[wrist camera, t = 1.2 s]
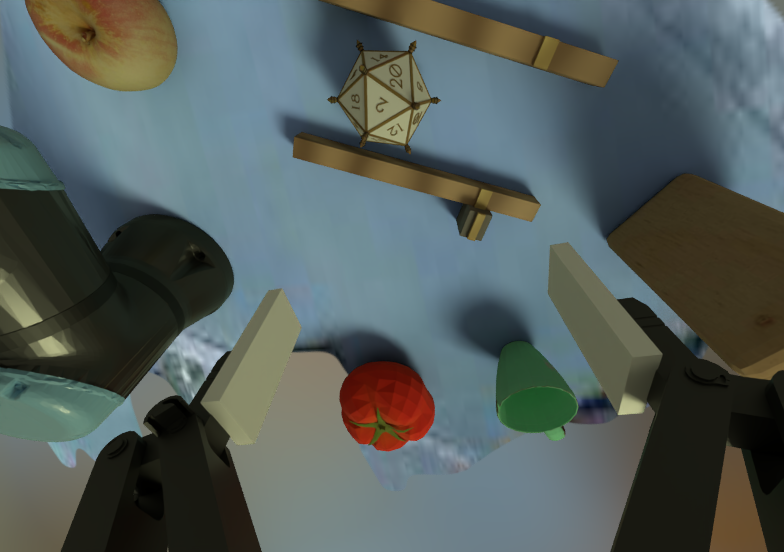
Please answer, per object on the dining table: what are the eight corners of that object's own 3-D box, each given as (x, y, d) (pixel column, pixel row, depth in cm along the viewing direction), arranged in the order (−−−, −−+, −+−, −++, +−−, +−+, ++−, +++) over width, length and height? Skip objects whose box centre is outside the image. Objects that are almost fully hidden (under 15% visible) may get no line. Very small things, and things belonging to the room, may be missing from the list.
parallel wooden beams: (297, 178, 37) (284, 191, 33) (316, -33, 27) (300, -47, 23) (513, 235, 39) (523, 253, 35) (604, 59, 29) (631, 60, 25)
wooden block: (599, 238, 39) (735, 375, 22) (682, 166, 34) (939, 273, 17) (653, 278, 41) (812, 428, 25) (738, 217, 36) (1008, 354, 20)
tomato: (409, 335, 49) (407, 391, 41) (444, 399, 57) (448, 456, 49) (327, 358, 53) (311, 412, 45) (371, 414, 61) (364, 470, 53)
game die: (375, 78, 34) (324, 3, 25) (455, 82, 31) (430, -2, 22) (356, 163, 35) (299, 121, 26) (432, 175, 32) (398, 132, 23)
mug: (472, 344, 49) (483, 402, 41) (536, 318, 46) (562, 376, 38) (513, 397, 56) (529, 456, 47) (572, 377, 52) (601, 438, 44)
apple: (73, -10, 29) (-30, -29, 22) (156, -47, 27) (71, -81, 21) (138, 98, 33) (69, 109, 27) (213, 72, 32) (159, 76, 25)
